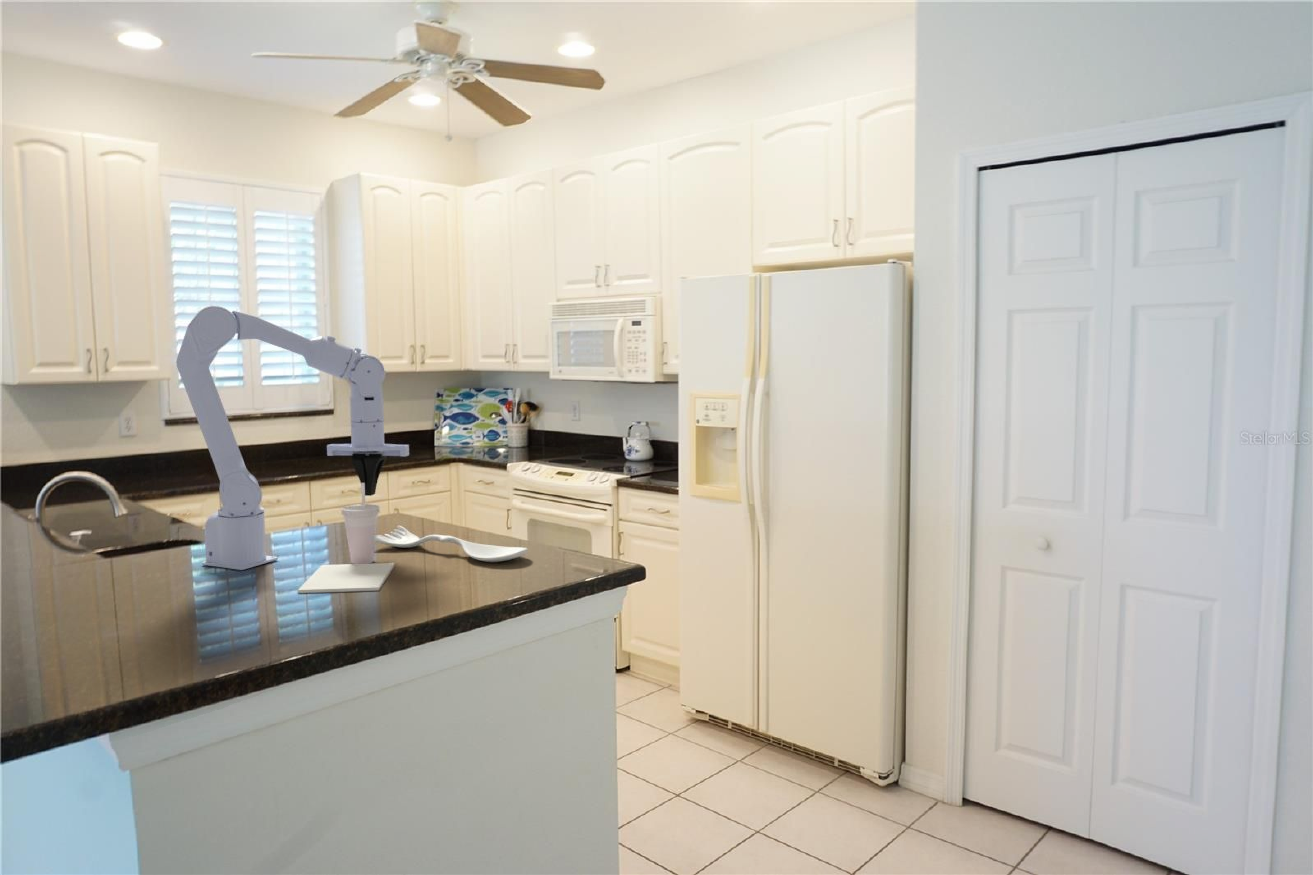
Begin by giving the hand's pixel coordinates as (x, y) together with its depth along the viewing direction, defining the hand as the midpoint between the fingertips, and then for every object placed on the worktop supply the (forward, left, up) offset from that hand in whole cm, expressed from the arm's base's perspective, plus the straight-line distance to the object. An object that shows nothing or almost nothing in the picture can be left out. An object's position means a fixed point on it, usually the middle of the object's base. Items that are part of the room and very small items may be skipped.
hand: (369, 494), depth 158 cm
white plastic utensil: (+15, +4, -11) cm, 19 cm away
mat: (+10, -17, -10) cm, 22 cm away
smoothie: (+4, -7, -11) cm, 14 cm away
